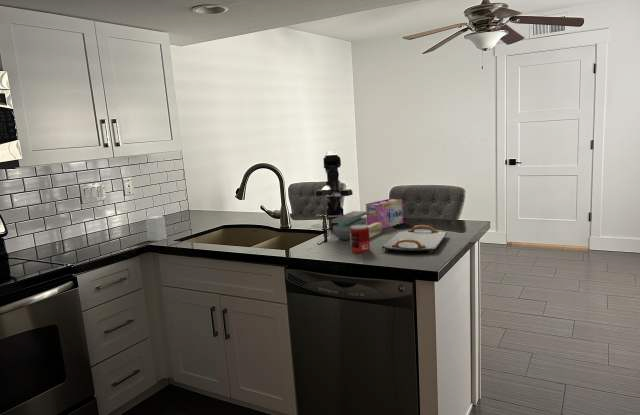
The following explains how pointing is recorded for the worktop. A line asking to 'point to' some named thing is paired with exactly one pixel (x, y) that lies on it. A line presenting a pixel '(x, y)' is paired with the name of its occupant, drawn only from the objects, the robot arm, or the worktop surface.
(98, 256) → the worktop surface
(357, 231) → the canned food
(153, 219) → the supplement box
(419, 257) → the worktop surface
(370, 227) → the maple stop board
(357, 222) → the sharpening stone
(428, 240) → the serving board
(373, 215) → the gum box
